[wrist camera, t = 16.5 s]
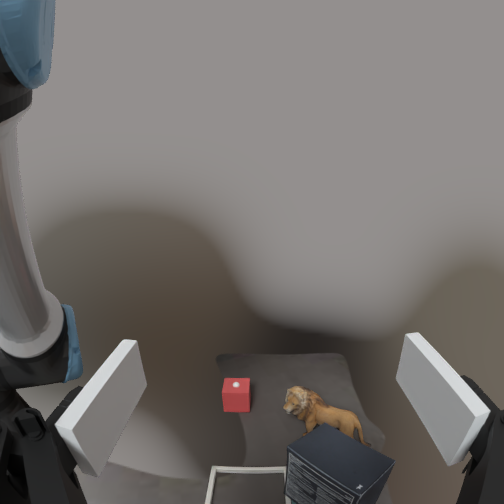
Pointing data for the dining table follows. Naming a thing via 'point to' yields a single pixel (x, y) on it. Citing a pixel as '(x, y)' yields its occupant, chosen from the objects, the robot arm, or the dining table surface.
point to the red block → (236, 395)
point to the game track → (242, 470)
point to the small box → (334, 469)
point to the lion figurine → (320, 412)
